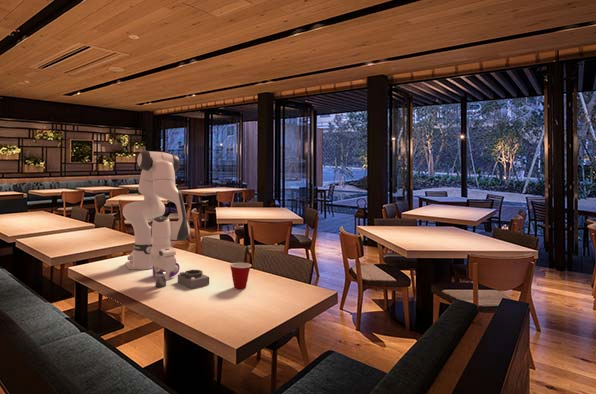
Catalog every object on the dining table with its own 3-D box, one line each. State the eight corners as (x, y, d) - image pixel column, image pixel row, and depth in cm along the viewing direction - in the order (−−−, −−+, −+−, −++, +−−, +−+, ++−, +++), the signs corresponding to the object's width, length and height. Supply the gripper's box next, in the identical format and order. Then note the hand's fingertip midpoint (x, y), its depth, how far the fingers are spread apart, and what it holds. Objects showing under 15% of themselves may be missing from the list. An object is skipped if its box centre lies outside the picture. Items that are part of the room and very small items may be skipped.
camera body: (177, 282, 191) (177, 270, 191) (195, 278, 198) (195, 267, 198) (191, 288, 181) (191, 276, 181) (209, 284, 189) (209, 273, 188)
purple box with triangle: (173, 280, 195) (173, 261, 194) (150, 278, 198) (149, 259, 197) (183, 274, 206) (183, 256, 205) (161, 272, 209) (161, 254, 208)
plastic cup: (255, 287, 186) (256, 263, 185) (240, 292, 177) (240, 268, 176) (240, 282, 192) (240, 260, 192) (224, 288, 184) (224, 264, 183)
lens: (153, 286, 185) (153, 271, 184) (163, 283, 189) (163, 269, 188) (158, 288, 181) (157, 274, 181) (168, 286, 185) (168, 272, 184)
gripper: (146, 247, 189) (147, 274, 190) (165, 254, 174) (165, 282, 175) (158, 245, 193) (158, 271, 194) (177, 251, 179) (178, 280, 180)
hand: (162, 277), depth 185 cm, fingers open, 8 cm apart
